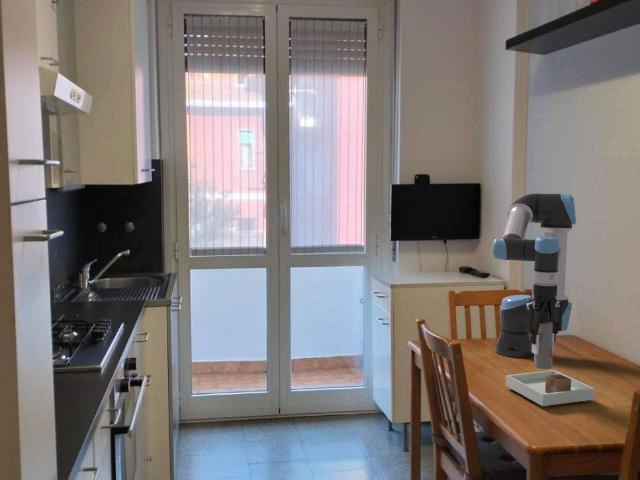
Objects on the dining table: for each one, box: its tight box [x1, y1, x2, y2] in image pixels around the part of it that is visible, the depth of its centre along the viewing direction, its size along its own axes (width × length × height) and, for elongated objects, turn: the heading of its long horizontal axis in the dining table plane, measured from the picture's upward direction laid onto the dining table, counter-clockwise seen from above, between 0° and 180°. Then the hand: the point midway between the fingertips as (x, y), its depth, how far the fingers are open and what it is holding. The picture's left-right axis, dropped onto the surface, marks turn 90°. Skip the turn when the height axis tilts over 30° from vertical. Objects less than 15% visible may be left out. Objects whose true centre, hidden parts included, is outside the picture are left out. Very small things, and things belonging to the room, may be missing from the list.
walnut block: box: [545, 374, 571, 393], centre depth 210 cm, size 6×6×6 cm
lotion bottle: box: [533, 310, 553, 370], centre depth 217 cm, size 6×6×20 cm
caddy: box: [505, 369, 596, 409], centre depth 215 cm, size 20×20×5 cm
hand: (542, 352), depth 218 cm, fingers closed on lotion bottle, 5 cm apart
